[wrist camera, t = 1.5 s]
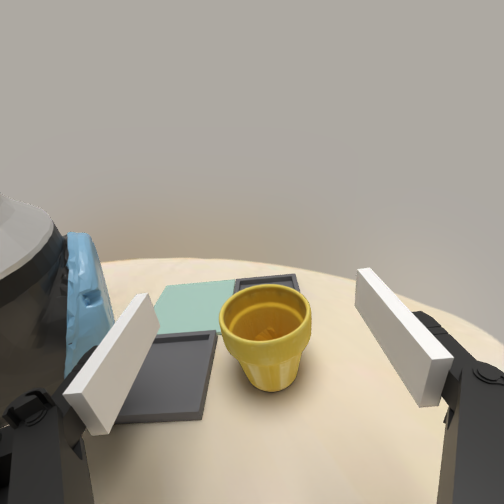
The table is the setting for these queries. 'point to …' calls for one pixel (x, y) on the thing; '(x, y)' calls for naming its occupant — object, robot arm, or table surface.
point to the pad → (192, 306)
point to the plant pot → (267, 333)
